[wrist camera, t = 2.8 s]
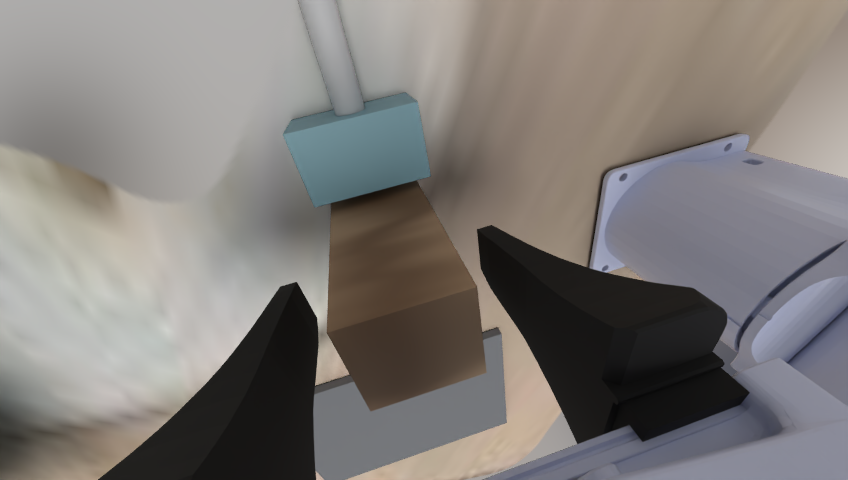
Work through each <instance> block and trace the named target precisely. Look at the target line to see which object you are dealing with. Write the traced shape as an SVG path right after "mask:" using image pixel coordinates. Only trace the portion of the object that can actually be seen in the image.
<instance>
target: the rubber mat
mask: <svg viewBox="0 0 848 480" xmlns="http://www.w3.org/2000/svg"><path fill="white" fill-rule="evenodd" d="M482 335H483V344H484V353H485V362H486V371H487V373H485V374H482V375H479V376H476V377H473V378H470V379H467V380H464V381H461V382H458V383H455V384H452V385H449V386H446V387H443V388H440V389H437V390H434V391H431V392H428V393H425V394H422V395H419V396H416V397H413V398H410V399H407V400H404V401H401V402H398V403H395V404H392V405H389V406H386V407H383V408H380V409H377V410H374V411H370V410H369V408H368V406H367V404H366V402H365V401H364V399H363V397H362V395H361V393H360V392H359V390H358V388H357V386H356V384H355V383H354V381H353V379H352V377H351V375H350V376H346V377H343V378H340V379H337V380H334V381H331V382H328V383H325V384H322V385H318V386H315V391H314V408H313V418H314V452H315V470H316V471H317V472H318V473H319V474H320V475H321V477H322V478H323V479H324V480H345V479H348V478H351V477H354V476H357V475H360V474H362V473H365V472H368V471H371V470H374V469H377V468H379V467H382V466H385V465H388V464H391V463H394V462H397V461H399V460H402V459H405V458H408V457H411V456H414V455H416V454H419V453H422V452H425V451H428V450H431V449H433V448H436V447H439V446H442V445H445V444H448V443H451V442H453V441H456V440H459V439H462V438H465V437H468V436H470V435H473V434H476V433H479V432H482V431H485V430H487V429H490V428H493V427H496V426H499V425H502V424H505V423H507V420H506V403H505V386H504V369H503V352H502V335H501V332H500V330H499V329H498V328H496V329H493V330H490V331H487V332H483V333H482Z"/></svg>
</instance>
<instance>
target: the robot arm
mask: <svg viewBox="0 0 848 480" xmlns="http://www.w3.org/2000/svg"><path fill="white" fill-rule="evenodd" d="M748 142H749V136H748V135H746V134H737V135H733V136H730V137H726V138H722V139H719V140H715V141H712V142H708V143H705V144H701V145H698V146H694V147H690V148H687V149H683V150H680V151H676V152H673V153H669V154H666V155H662V156H659V157H655V158H651V159H648V160H644V161H641V162H637V163H634V164H630V165H627V166H623V167H620V168H616V169H613V170H610V171H609V172H608V173H607V174H606V175H605V177H604V180H603V186H602V192H601V199H600V205H599V211H598V217H597V223H596V230H595V236H594V242H593V248H592V254H591V261H590V267H589V268H587V267H584V266H581V265H578V264H575V263H572V262H569V261H566V260H564V259H561V258H558V257H556V256H553V255H551V254H549V253H546V252H544V251H542V250H539V249H537V248H535V247H533V246H531V245H529V244H527V243H525V242H523V241H521V240H519V239H517V238H515V237H513V236H511V235H509V234H507V233H506V232H504V231H502V230H500V229H498V228H496V227H494V226H492V225H490V226H487V227H484V228H480V229H477V234H478V244H479V254H480V264H481V270H482V272H483V274H484V276H485V278H486V280H487V282H488V284H489V286H490V288H491V289H492V291H493V292H494V294H495V295H496V297H497V298H498V300H499V301H500V303H501V304H502V306H503V307H504V309H505V310H506V312H507V313H508V314H509V316H510V317H511V319H512V320H513V322H514V323H515V325H516V326H517V328H518V329H519V330H520V332H521V334H522V335H523V337H524V338H525V340H526V342H527V344H528V346H529V347H530V349H531V351H532V353H533V355H534V357H535V358H536V360H537V362H538V364H539V366H540V368H541V370H542V372H543V374H544V376H545V378H546V380H547V381H548V383H549V385H550V387H551V389H552V391H553V393H554V396H555V398H556V400H557V402H558V404H559V406H560V408H561V410H562V412H563V414H564V416H565V418H566V420H567V422H568V424H569V427H570V429H571V431H572V433H573V435H574V437H575V440H576V442H577V445H574V446H572V447H568V448H566V449H563V450H560V451H558V452H555V453H552V454H550V455H547V456H545V457H542V458H539V459H537V460H534V461H531V462H528V463H526V464H523V465H520V466H518V467H515V468H512V469H509V470H507V471H504V472H501V473H499V474H496V475H494V476H491V477H488V478H485V479H483V480H848V179H847V178H843V177H840V176H836V175H833V174H829V173H825V172H821V171H817V170H814V169H810V168H807V167H803V166H799V165H796V164H792V163H788V162H784V161H781V160H777V159H773V158H770V157H766V156H762V155H758V154H755V153H751V152H747V151H745V150H746V147H747V145H748ZM621 175H622V176H621ZM620 176H621V177H620ZM625 266H627V267H628V268H629V269H631V270H632V271H633V272H634V273H636V274H637V275H638V276H639V277H641V278H642V279H643V280H645V281H642V280H637V279H632V278H627V277H622V276H618V275H613V274H609V273H606V272H609V271H612V270H615V269H619V268H622V267H625ZM719 339H720V340H722V341H723V342H724V343H726V344H727V345H728V346H729V347H731V348H732V349H733V350H734V351H736V352H737V353H738V355H737V357H736V358H735V360H734V361H733V362H732V363H731V366H732V367H733V368H734V369H735V370H737V371H738V372H737V373H736V374H735V375H733V376H732V377H731V376H730V375H729V374H728V373H726V372H725V371H724V370H723V369H722V368H721V367H723V365H724V362H723V360H722V359H720V358H719V357H718V356H717V355H716V354H715V353H713V352H712V351H713V349H714V347H715V346H716V344H717V342H718V340H719ZM317 356H318V324H317V317H316V315H315V314H314V312H313V310H312V308H311V306H310V305H309V303H308V301H307V299H306V298H305V296H304V294H303V292H302V290H301V289H300V287H299V285H298V283H297V282H295V283H291V284H288V285H285V286H281V287H280V288H279V289H278V291H277V292H276V294H275V295H274V297H273V298H272V299H271V301H270V302H269V304H268V305H267V307H266V308H265V310H264V311H263V313H262V314H261V315H260V317H259V318H258V320H257V321H256V323H255V324H254V325H253V327H252V328H251V330H250V331H249V332H248V334H247V335H246V336H245V338H244V339H243V340H242V342H241V343H240V344H239V345H238V347H237V348H236V349H235V351H234V352H233V353H232V355H231V356H230V357H229V358H228V359H227V361H226V362H225V363H224V364H223V365H222V366H221V368H220V369H219V370H218V371H217V372H216V373H215V374H214V375H213V377H212V378H211V379H210V380H209V381H208V382H207V383H206V384H205V385H204V386H203V387H202V388H201V389H200V390H199V391H198V392H197V393H196V394H195V395H194V396H193V397H192V398H191V399H190V400H189V401H188V402H187V403H186V404H185V405H184V406H183V407H182V408H181V409H180V410H179V411H178V412H177V413H176V414H175V415H174V416H173V417H172V418H171V419H170V420H169V421H168V422H166V423H165V424H164V425H163V426H162V427H161V428H160V429H159V430H158V431H156V432H155V433H154V434H153V435H152V436H151V437H150V438H148V439H147V440H146V441H145V442H144V443H143V444H142V445H140V446H139V447H138V448H137V449H136V450H134V451H133V452H132V453H131V454H130V455H128V456H127V457H126V458H125V459H123V460H122V461H121V462H120V463H118V464H117V465H116V466H115V467H113V468H112V469H111V470H110V471H108V472H107V473H106V474H105V475H103V476H102V477H101V478H100V479H98V480H316V472H315V452H314V418H313V408H314V391H315V380H316V368H317Z"/></svg>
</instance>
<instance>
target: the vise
mask: <svg viewBox="0 0 848 480" xmlns="http://www.w3.org/2000/svg"><path fill="white" fill-rule="evenodd" d="M298 2H299V5H300V8H301V11H302V14H303V17H304V20H305V24H306V27H307V30H308V33H309V36H310V39H311V42H312V45H313V48H314V51H315V54H316V57H317V60H318V63H319V66H320V69H321V72H322V75H323V78H324V82H325V85H326V88H327V91H328V94H329V97H330V100H331V103H332V106H333V109H334V110H331V111H327V112H323V113H318V114H314V115H310V116H306V117H302V118H298V119H293V120H291V121H290V123H289V125H288V127H287V128H286V130H285V132H284V134H283V136H284V138H285V141H286V143H287V145H288V148H289V150H290V152H291V155H292V157H293V159H294V161H295V164H296V166H297V168H298V171H299V173H300V175H301V178H302V180H303V182H304V184H305V187H306V189H307V191H308V194H309V196H310V198H311V201H312V203H313V205H314V207H319V206H322V205H326V204H330V203H333V202H337V201H341V200H345V199H348V198H352V197H356V196H360V195H363V194H367V193H371V192H374V191H378V190H382V189H386V188H389V187H393V186H397V185H401V184H404V183H408V182H412V181H415V180H419V179H423V178H427V177H430V176H431V174H430V168H429V163H428V157H427V151H426V146H425V140H424V135H423V129H422V124H421V118H420V112H419V107H418V102H417V101H416V100H415V99H413V98H412V97H411V96H409V95H408V94H407V93H401V94H397V95H393V96H389V97H385V98H381V99H376V100H372V101H368V102H363V98H362V94H361V91H360V87H359V83H358V80H357V76H356V72H355V69H354V65H353V61H352V58H351V54H350V50H349V47H348V43H347V39H346V36H345V32H344V28H343V25H342V21H341V17H340V14H339V10H338V6H337V3H336V0H298Z"/></svg>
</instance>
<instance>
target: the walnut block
mask: <svg viewBox="0 0 848 480" xmlns="http://www.w3.org/2000/svg"><path fill="white" fill-rule="evenodd" d="M327 334H328V336H329V338H330V339H331V341H332V343H333V345H334V347H335V348H336V350H337V352H338V354H339V356H340V357H341V359H342V361H343V363H344V365H345V366H346V368H347V370H348V372H349V374H350V375H351V377H352V379H353V381H354V383H355V384H356V386H357V388H358V390H359V392H360V393H361V395H362V397H363V399H364V401H365V402H366V404H367V406H368V408H369V410H370V411H374V410H377V409H380V408H383V407H386V406H389V405H392V404H395V403H398V402H401V401H404V400H407V399H410V398H413V397H416V396H419V395H422V394H425V393H428V392H431V391H434V390H437V389H440V388H443V387H446V386H449V385H452V384H455V383H458V382H461V381H464V380H467V379H470V378H473V377H476V376H479V375H482V374H485V373H487V371H486V362H485V353H484V344H483V335H482V327H481V318H480V309H479V300H478V291H477V286H476V284H475V282H474V281H473V279H472V277H471V275H470V274H469V272H468V270H467V268H466V267H465V265H464V263H463V261H462V260H461V258H460V256H459V254H458V253H457V251H456V249H455V247H454V245H453V244H452V242H451V240H450V238H449V237H448V235H447V233H446V231H445V230H444V228H443V226H442V224H441V223H440V221H439V219H438V217H437V216H436V214H435V212H434V210H433V209H432V207H431V205H430V203H429V202H428V200H427V198H426V196H425V195H424V193H423V191H422V189H421V188H420V186H419V184H418V182H417V180H415V181H412V182H408V183H404V184H401V185H397V186H393V187H389V188H386V189H382V190H378V191H374V192H371V193H367V194H363V195H360V196H356V197H352V198H348V199H345V200H341V201H337V202H333V203H331V225H330V255H329V285H328V315H327Z"/></svg>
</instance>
